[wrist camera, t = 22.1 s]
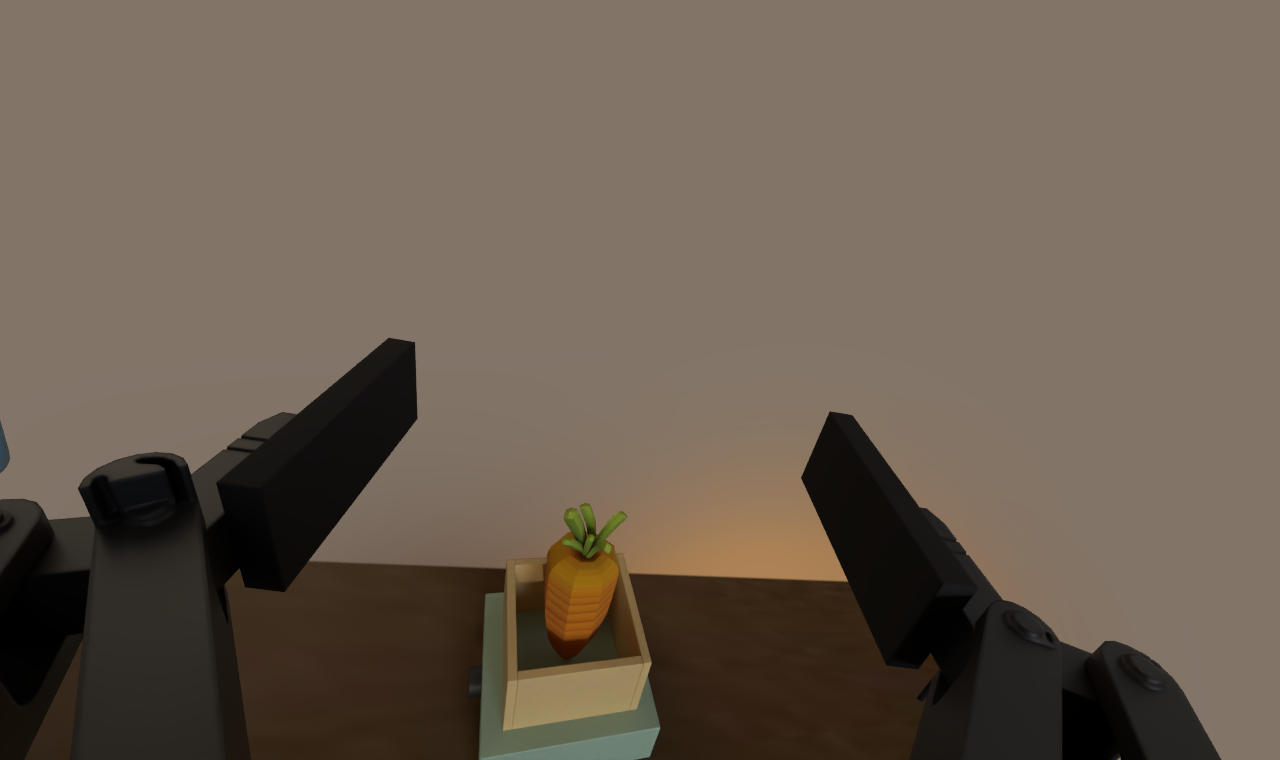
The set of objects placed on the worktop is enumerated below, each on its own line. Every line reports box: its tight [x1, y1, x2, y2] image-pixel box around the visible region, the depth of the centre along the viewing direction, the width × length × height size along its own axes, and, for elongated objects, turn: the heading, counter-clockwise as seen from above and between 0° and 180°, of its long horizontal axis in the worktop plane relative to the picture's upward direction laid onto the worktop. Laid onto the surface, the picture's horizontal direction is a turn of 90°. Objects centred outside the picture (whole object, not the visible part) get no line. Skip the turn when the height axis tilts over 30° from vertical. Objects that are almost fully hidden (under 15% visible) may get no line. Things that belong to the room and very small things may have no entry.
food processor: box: [468, 553, 660, 760], centre depth 36 cm, size 13×12×10 cm
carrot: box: [544, 503, 627, 659], centre depth 33 cm, size 5×5×15 cm
